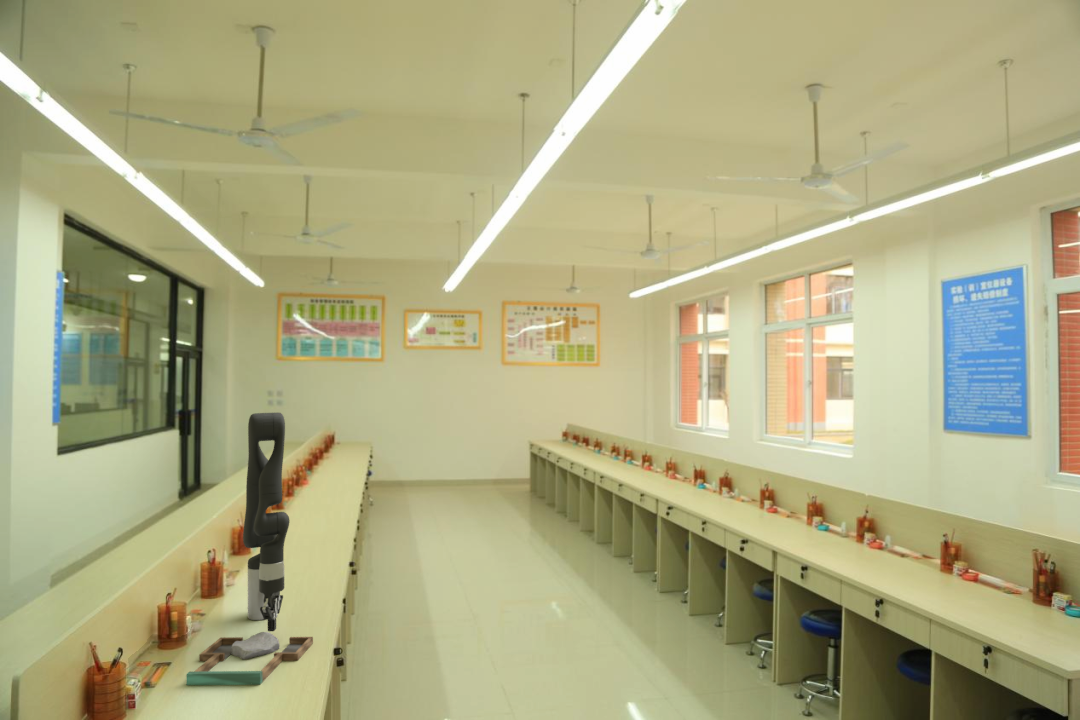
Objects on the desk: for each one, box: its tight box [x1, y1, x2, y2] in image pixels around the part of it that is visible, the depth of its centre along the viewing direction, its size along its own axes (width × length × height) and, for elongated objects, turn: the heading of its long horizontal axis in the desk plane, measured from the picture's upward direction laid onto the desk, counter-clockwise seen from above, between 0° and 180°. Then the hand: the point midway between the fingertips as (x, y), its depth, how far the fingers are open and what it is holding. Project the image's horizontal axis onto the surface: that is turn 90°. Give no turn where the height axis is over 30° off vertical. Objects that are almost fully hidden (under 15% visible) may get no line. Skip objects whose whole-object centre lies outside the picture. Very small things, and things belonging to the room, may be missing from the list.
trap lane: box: [186, 636, 314, 686], centre depth 197 cm, size 28×29×3 cm
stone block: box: [231, 631, 281, 660], centre depth 205 cm, size 12×5×10 cm
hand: (271, 630), depth 215 cm, fingers closed
